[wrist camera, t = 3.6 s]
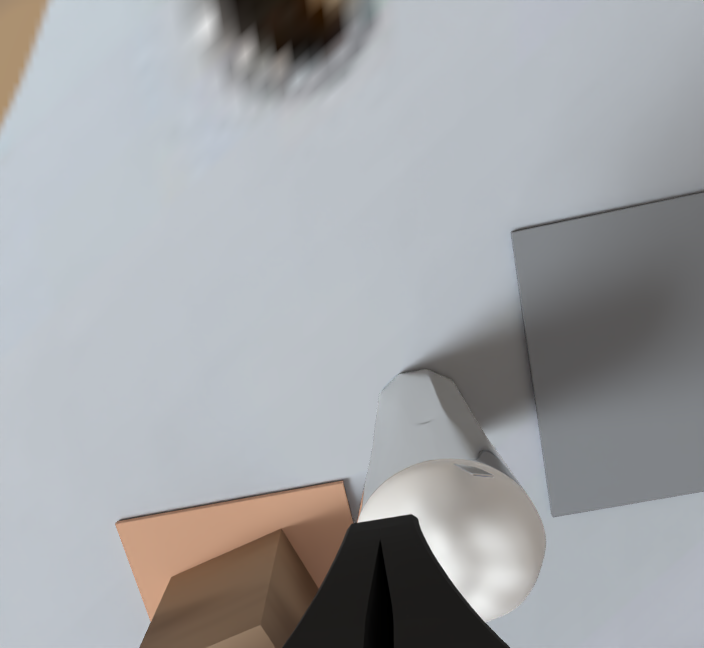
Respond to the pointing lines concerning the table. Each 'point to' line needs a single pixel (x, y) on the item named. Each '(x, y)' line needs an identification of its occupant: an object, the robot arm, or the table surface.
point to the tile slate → (617, 352)
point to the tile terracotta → (235, 534)
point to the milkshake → (453, 492)
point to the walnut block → (235, 599)
